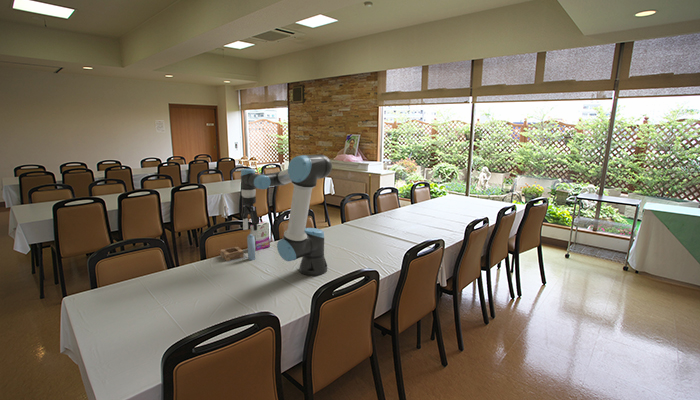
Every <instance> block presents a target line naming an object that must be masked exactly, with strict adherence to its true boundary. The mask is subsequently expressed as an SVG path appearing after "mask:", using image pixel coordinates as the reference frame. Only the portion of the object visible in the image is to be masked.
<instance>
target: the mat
mask: <svg viewBox="0 0 700 400" xmlns="http://www.w3.org/2000/svg"><path fill="white" fill-rule="evenodd" d="M243 255H244V258H239V259H234V260H230V261H226V262H227V263H231V262H235V261H241V260H245V259H248V255H245V254H244V253H243ZM219 256H220V257H221V254H220V255H219Z"/></svg>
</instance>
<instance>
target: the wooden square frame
mask: <svg viewBox="0 0 700 400" xmlns="http://www.w3.org/2000/svg"><path fill="white" fill-rule="evenodd" d="M243 254H244V250H243V249H241V248H240V247H239V246H232V247H227V248H222V249H220V255H221V256H220V257H221V258H222V259H223V260H225V261H226V262H227V261H230V260H234V259H239V258H244V255H245V254H244V255H243Z"/></svg>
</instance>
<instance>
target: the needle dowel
mask: <svg viewBox="0 0 700 400" xmlns="http://www.w3.org/2000/svg"><path fill="white" fill-rule="evenodd" d="M246 241H247V242H246V243H247V257H248V258H247V259H248V260H249V261H255V260H256V251H255V238H254V236H252V234H251V233H249V234H248V235H247V238H246Z"/></svg>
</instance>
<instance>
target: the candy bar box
mask: <svg viewBox="0 0 700 400" xmlns="http://www.w3.org/2000/svg"><path fill="white" fill-rule="evenodd" d="M269 224H270V223H269V222H268V221H261V222H260V221H259V224H257V233H258V235H257V236H254V238H255V252H257V251H261V250H264V249H268V248H269V247H270V246H271V242H270V225H269ZM250 234H252V224H251V225H250Z"/></svg>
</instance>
